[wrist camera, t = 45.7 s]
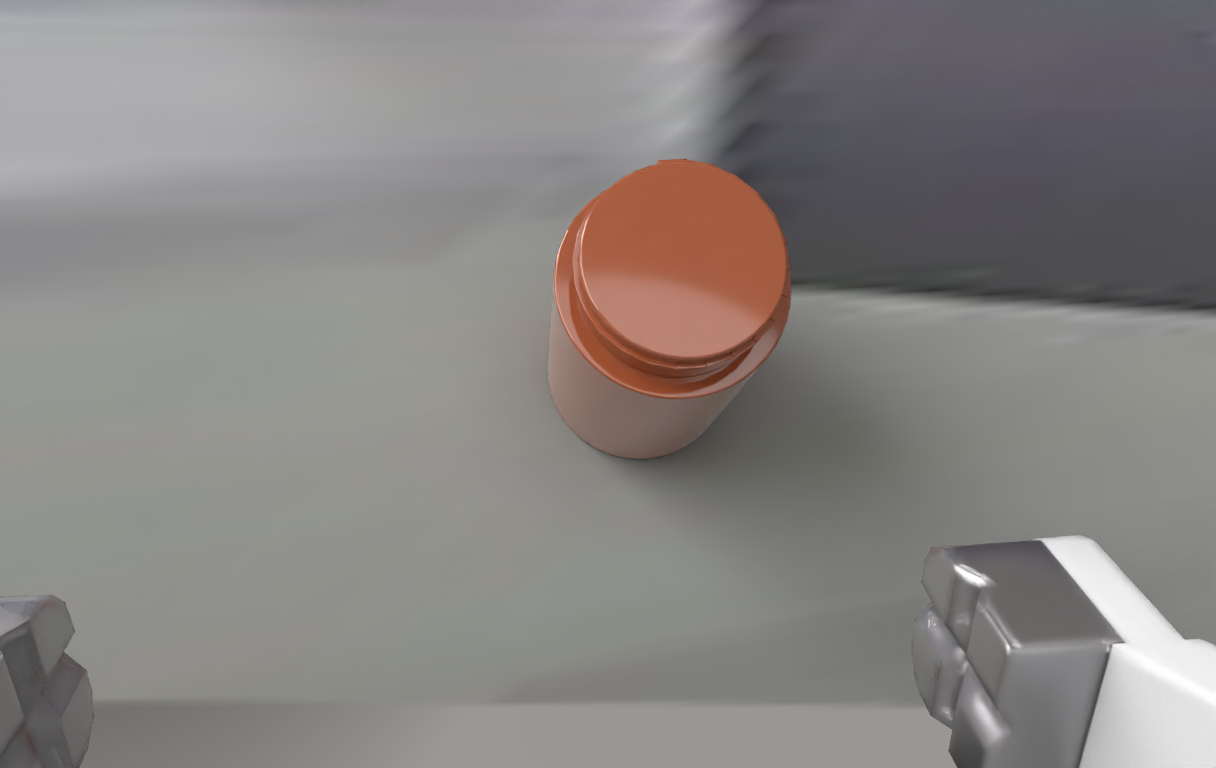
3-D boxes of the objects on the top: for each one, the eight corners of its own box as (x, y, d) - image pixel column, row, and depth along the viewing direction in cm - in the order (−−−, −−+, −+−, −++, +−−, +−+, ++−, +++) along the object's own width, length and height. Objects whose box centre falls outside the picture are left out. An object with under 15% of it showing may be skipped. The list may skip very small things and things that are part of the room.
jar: (736, 452, 31) (826, 372, 22) (553, 465, 31) (565, 390, 21) (716, 279, 32) (792, 135, 23) (540, 289, 32) (546, 145, 23)
